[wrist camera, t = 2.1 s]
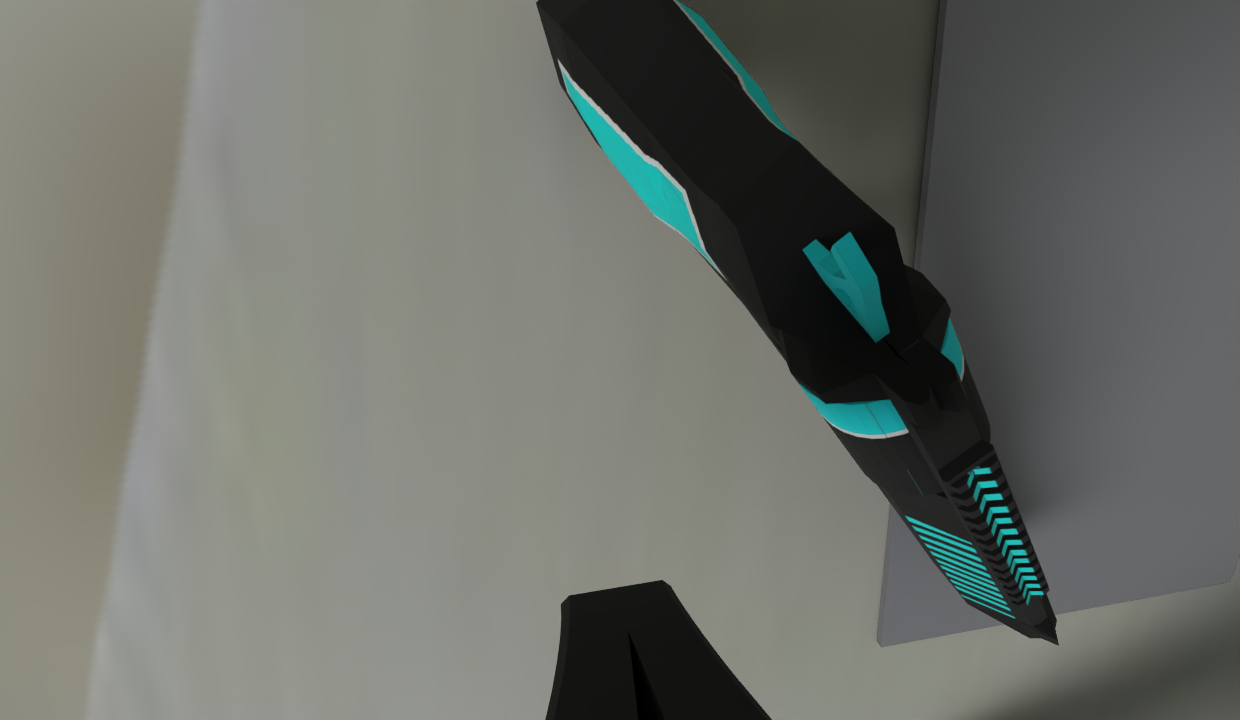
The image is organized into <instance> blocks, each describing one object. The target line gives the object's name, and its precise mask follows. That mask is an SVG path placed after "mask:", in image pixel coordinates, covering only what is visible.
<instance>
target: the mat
mask: <svg viewBox="0 0 1240 720" xmlns="http://www.w3.org/2000/svg"><path fill="white" fill-rule="evenodd" d="M914 269H915V270H917V271H919V272H922V273H923V275H924V276H925V277H926V278H927V279H928V280H929V281H930V282H931V283H932V285H933V286H934V287H935V288H936V289H937V290H938V291H939V292H940V293H941V295H942V296H943V297H944V298H945V299H946V300H947V302H948V305H949V307H950V309H951V313H950V320H951V322H952V325H953V328H954V330H955V333H956V335H957V338H958V341H959V343H960V346H961V348H962V351H963V354H964V356H965V359H966V361H967V364H968V367H969V369H970V372H971V374H972V377H973V380H974V382H975V385H976V387H977V390H978V393H979V395H980V398H981V400H982V403H983V406H984V408H985V411H986V413H987V416H988V420H989V423H990V431H991V439H990V444H992V445H993V446H994V449H995V451H996V454H997V456H998V459H999V461H1000V464H1001V466H1002V469H1003V472H1004V474H1005V477H1006V479H1007V482H1008V484H1009V487H1010V489H1011V492H1012V494H1013V497H1014V499H1015V502H1016V504H1017V507H1018V509H1019V512H1020V514H1021V517H1022V519H1023V522H1024V524H1025V527H1026V530H1027V532H1028V535H1029V537H1030V540H1031V542H1032V545H1033V547H1034V550H1035V552H1036V555H1037V558H1038V560H1039V563H1040V565H1041V568H1042V570H1043V573H1044V575H1045V578H1046V580H1047V583H1048V586H1049V590H1050V591H1048V592H1047V596H1048V599H1049V601H1050V604H1051V607H1052V609H1053V612H1054V615H1057V614H1062V613H1067V612H1073V611H1078V610H1083V609H1089V608H1094V607H1100V606H1105V605H1110V604H1116V603H1121V602H1126V601H1132V600H1137V599H1143V598H1148V597H1153V596H1159V595H1164V594H1169V593H1175V592H1180V591H1185V590H1191V589H1196V588H1202V587H1207V586H1212V585H1218V584H1223V583H1228V582H1231V579H1232V576H1233V573H1234V570H1235V567H1236V564H1237V562H1238V559H1239V556H1240V0H940V6H939V16H938V26H937V37H936V47H935V57H934V67H933V77H932V87H931V97H930V107H929V117H928V128H927V138H926V148H925V158H924V168H923V178H922V188H921V198H920V209H919V219H918V229H917V239H916V249H915V259H914ZM998 625H1003V623H1001V622H999V621H998V620H996V619H994V618H992V617H990V616H988V615H987V614H985V613H983V612H981V611H979V610H977V609H976V608H974V607H972V606H970V605H968V604H967V603H966V602H965V600H964V599H963V598H962V597H961V595H960V594H959V593H958V592H957V591H956V589H955V588H954V587H953V586H952V585H951V583H950V582H949V581H948V580H947V578H946V577H945V576H944V575H943V574H942V572H941V571H940V570H939V569H938V567H937V566H936V565H935V564H934V563H933V561H932V560H931V559H930V557H929V556H928V554H927V553H926V552H925V550H924V549H923V548H922V546H921V545H920V543H919V542H918V541H917V539H916V538H915V536H914V535H913V534H912V532H911V531H910V530H909V528H908V527H907V525H906V524H905V523H904V521H903V520H902V519H901V517H900V516H899V514H898V513H897V512H896V510H895V509H894V507H893V506H892V505H891V503H890V512H889V522H888V532H887V542H886V552H885V563H884V573H883V583H882V593H881V603H880V613H879V623H878V633H877V642H878V643H879V645H880V646H881V647H885V646H890V645H896V644H901V643H906V642H912V641H917V640H923V639H928V638H933V637H939V636H944V635H949V634H955V633H960V632H965V631H971V630H976V629H982V628H987V627H992V626H998Z"/></svg>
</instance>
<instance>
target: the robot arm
mask: <svg viewBox="0 0 1240 720" xmlns="http://www.w3.org/2000/svg"><path fill="white" fill-rule="evenodd" d="M546 720H772V719H771V718H770V717H769V716H768V714H767V713H766V712H765V711H764V710H763V709H762V707H761V706H760V705H759V704H758V703H757V701H756V700H755V699H754V698H753V697H752V695H751V694H750V693H749V692H748V691H747V690H746V688H745V687H744V686H743V685H742V684H741V682H740V681H739V680H738V679H737V678H736V676H735V675H734V674H733V673H732V671H731V670H730V669H729V668H728V666H727V665H726V664H725V663H724V661H723V660H722V659H721V658H720V656H719V655H718V654H717V652H716V651H715V650H714V648H713V647H712V646H711V644H710V643H709V642H708V640H707V639H706V638H705V636H704V635H703V634H702V632H701V631H700V629H699V628H698V627H697V625H696V624H695V623H694V621H693V620H692V618H691V617H690V615H689V614H688V612H687V611H686V610H685V608H684V606H683V605H682V603H681V602H680V600H679V599H678V597H677V596H676V594H675V593H674V591H673V589H672V587H671V586H670V585H668V584H667V583H666V582H664V581H663V580H660V581H654V582H648V583H642V584H636V585H630V586H624V587H618V588H612V589H606V590H600V591H594V592H588V593H582V594H576V595H570V596H568V597H567V598H566V599H565V600H564V602H563V603H562V604H561V633H560V644H559V652H558V659H557V665H556V671H555V677H554V683H553V688H552V693H551V698H550V702H549V706H548V711H547V715H546Z"/></svg>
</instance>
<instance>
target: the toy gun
mask: <svg viewBox="0 0 1240 720" xmlns="http://www.w3.org/2000/svg"><path fill="white" fill-rule="evenodd" d="M536 4H537V8H538V11H539V14H540V18H541V21H542V24H543V28H544V31H545V35H546V38H547V41H548V45H549V48H550V51H551V55H552V58H553V61H554V65H555V68H556V72H557V75H558V78H559V82H560V85H561V86H562V88H563V90H564V91H565V93H566V95H567V96H568V98H569V99H570V101H571V103H572V104H573V106H574V107H575V109H576V111H577V112H578V114H579V116H580V117H581V119H582V120H583V122H584V124H585V125H586V127H587V128H588V130H589V132H590V133H591V135H592V137H593V138H594V140H595V141H596V143H597V144H598V145H599V146H600V147H601V148H602V150H603V151H604V153H605V154H606V156H607V157H608V158H609V159H610V161H611V162H612V163H613V164H614V165H615V167H616V168H617V169H618V170H619V172H620V173H621V174H622V175H623V176H624V178H625V179H626V180H627V181H628V183H629V184H630V185H631V186H632V188H633V189H634V190H635V191H636V193H637V194H638V195H639V197H640V198H641V199H642V200H643V202H644V203H645V204H646V206H647V207H648V208H649V210H650V211H651V212H652V213H653V215H654V216H655V217H656V218H658V219H659V220H661V221H662V222H664V223H665V224H666V225H668V226H669V227H671V228H672V229H674V230H675V231H677V232H678V233H680V234H681V235H682V236H683V237H684V238H686V239H687V240H688V241H689V242H690V243H691V244H692V245H693V246H694V248H695V249H696V250H697V251H698V252H699V253H700V254H701V256H702V257H703V258H704V259H705V260H706V261H707V263H708V264H709V265H710V266H711V267H712V268H713V269H714V271H715V272H716V273H717V274H718V275H719V276H720V277H721V279H722V280H723V281H724V282H725V283H726V284H727V286H728V287H729V288H730V289H731V290H732V291H733V292H734V294H735V295H736V296H737V297H738V298H739V299H740V301H741V302H742V303H743V304H744V305H745V306H746V308H747V309H748V311H749V312H750V313H751V315H752V316H753V318H754V319H755V320H756V322H757V323H758V324H759V326H760V327H761V328H762V330H763V331H764V332H765V334H766V335H767V336H768V338H769V339H770V340H771V342H772V343H773V344H774V346H775V347H776V348H777V350H778V351H779V353H780V354H781V355H782V357H783V358H784V359H785V361H786V362H787V364H788V367H789V370H790V372H791V374H792V375H793V376H794V378H795V379H796V380H797V382H798V383H799V385H800V386H801V388H802V389H803V390H804V392H805V393H806V394H807V396H808V397H809V398H810V400H811V401H812V403H813V404H814V405H815V407H816V408H817V409H818V411H819V412H820V414H821V415H822V416H823V418H824V419H825V420H826V422H827V423H828V424H829V426H830V427H831V429H832V430H833V431H834V433H835V434H836V435H837V437H838V438H839V439H840V441H841V442H842V444H843V445H844V446H845V448H846V449H847V450H848V452H849V453H850V455H851V456H852V457H853V459H854V460H855V461H856V463H857V464H858V465H859V467H860V468H861V470H862V471H863V472H864V474H865V475H866V476H868V477H869V478H870V479H871V480H872V481H873V482H874V483H876V484H877V485H878V487H879V488H880V490H881V491H882V492H883V494H884V495H885V496H886V498H887V499H888V501H889V502H890V503H891V505H892V506H893V507H894V509H895V510H896V512H897V513H898V514H899V516H900V517H901V519H902V520H903V521H904V523H905V524H906V525H907V527H908V528H909V530H910V531H911V532H912V534H913V535H914V536H915V538H916V539H917V541H918V542H919V543H920V545H921V546H922V548H923V549H924V550H925V552H926V553H927V554H928V556H929V557H930V559H931V560H932V561H933V563H934V564H935V565H936V566H937V567H938V569H939V570H940V571H941V572H942V574H943V575H944V576H945V577H946V578H947V580H948V581H949V582H950V583H951V585H952V586H953V587H954V588H955V589H956V591H957V592H958V593H959V594H960V595H961V597H962V598H963V599H964V600H965V602H966V603H967V604H968V605H970V606H972V607H974V608H976V609H977V610H979V611H981V612H983V613H985V614H987V615H988V616H990V617H992V618H994V619H996V620H998V621H999V622H1001V623H1003V624H1005V625H1007V626H1009V627H1010V628H1012V629H1014V630H1016V631H1018V632H1020V633H1021V634H1023V635H1025V636H1027V637H1029V638H1042V639H1044V640H1047V641H1049V642H1051V643H1054V644H1056V645H1059V644H1058V639H1057V635H1056V630H1055V627H1056V622H1057V620H1056V617H1055V615H1054V612H1053V609H1052V607H1051V604H1050V601H1049V599H1048V596H1047V592H1048V591H1050V590H1049V586H1048V583H1047V580H1046V578H1045V575H1044V573H1043V570H1042V568H1041V565H1040V563H1039V560H1038V558H1037V555H1036V552H1035V550H1034V547H1033V545H1032V542H1031V540H1030V537H1029V535H1028V532H1027V530H1026V527H1025V524H1024V522H1023V519H1022V517H1021V514H1020V512H1019V509H1018V507H1017V504H1016V502H1015V499H1014V497H1013V494H1012V492H1011V489H1010V487H1009V484H1008V482H1007V479H1006V477H1005V474H1004V472H1003V469H1002V466H1001V464H1000V461H999V459H998V456H997V454H996V451H995V449H994V446H993V445H992V444H990V439H991V431H990V423H989V420H988V416H987V413H986V411H985V408H984V406H983V403H982V400H981V398H980V395H979V393H978V390H977V387H976V385H975V382H974V380H973V377H972V374H971V372H970V369H969V367H968V364H967V361H966V359H965V356H964V354H963V351H962V348H961V346H960V343H959V341H958V338H957V335H956V333H955V330H954V328H953V325H952V322H951V320H950V313H951V309H950V307H949V305H948V302H947V300H946V299H945V298H944V297H943V296H942V295H941V293H940V292H939V291H938V290H937V289H936V288H935V287H934V286H933V285H932V283H931V282H930V281H929V280H928V279H927V278H926V277H925V276H924V275H923V273H922V272H919V271H917V270H915V269H913V268H911V267H908V266H906V265H904V263H903V260H902V256H901V252H900V248H899V244H898V241H897V237H896V233H895V229H894V227H892V226H891V225H890V224H889V223H888V222H887V221H885V220H884V219H883V218H882V217H881V216H880V215H878V214H877V213H876V212H875V211H874V210H873V209H871V208H870V207H869V206H868V205H867V204H866V203H865V202H863V201H862V200H861V199H860V198H859V197H858V196H857V195H855V194H854V193H853V192H852V191H851V190H850V189H849V188H848V187H847V186H845V185H844V184H843V183H842V182H841V181H840V180H839V179H838V178H837V177H835V176H834V175H833V174H832V173H831V172H830V171H829V170H828V169H827V168H826V167H825V166H823V165H822V164H821V163H820V162H819V161H818V160H817V159H816V158H815V157H814V156H813V155H812V154H811V153H810V152H809V151H808V150H807V149H806V148H805V147H804V146H803V145H802V144H801V143H800V142H798V141H797V140H796V139H795V137H794V136H793V135H792V134H791V133H790V132H789V131H788V130H787V129H786V128H785V127H784V126H783V125H782V123H781V122H780V121H779V119H778V118H777V116H776V115H775V113H774V111H773V109H772V107H771V105H770V103H769V101H768V99H767V97H766V95H765V93H764V92H763V91H762V89H761V88H760V87H759V86H758V85H757V83H756V82H755V81H754V80H753V79H752V77H751V76H750V75H749V74H748V72H747V71H746V70H745V69H744V68H743V66H742V65H741V64H740V63H739V62H738V60H737V59H736V58H735V57H734V56H733V54H732V53H731V52H730V51H729V49H728V48H727V47H726V46H725V45H724V43H723V42H722V41H721V40H720V39H719V37H718V36H717V35H716V34H715V32H714V31H713V30H712V29H711V28H710V26H709V25H708V24H707V23H706V22H705V20H704V19H703V18H702V17H701V16H700V15H698V14H697V13H695V12H694V11H692V10H691V9H689V8H688V7H686V6H685V5H683V4H682V3H681V2H679V1H678V0H538V1H537V2H536Z"/></svg>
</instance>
